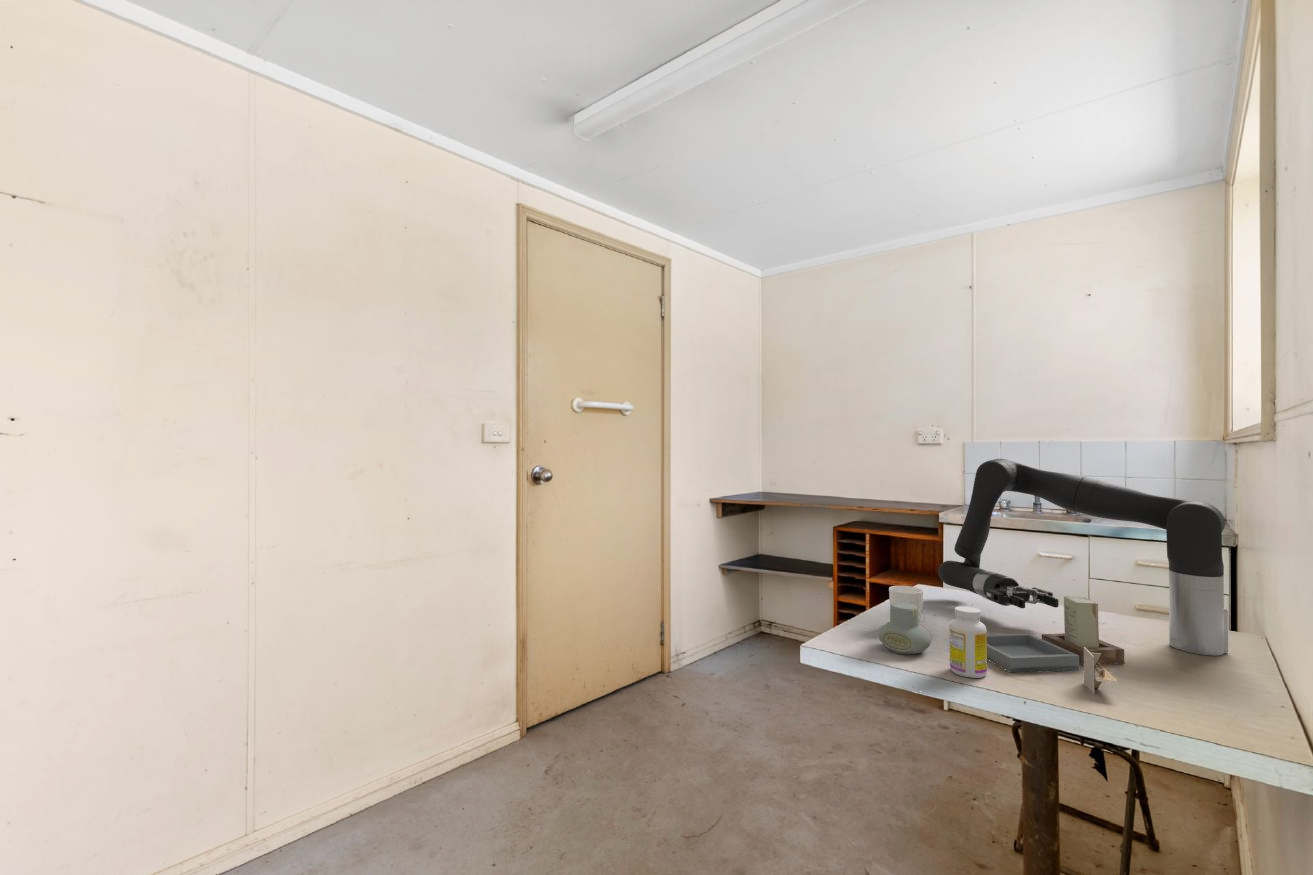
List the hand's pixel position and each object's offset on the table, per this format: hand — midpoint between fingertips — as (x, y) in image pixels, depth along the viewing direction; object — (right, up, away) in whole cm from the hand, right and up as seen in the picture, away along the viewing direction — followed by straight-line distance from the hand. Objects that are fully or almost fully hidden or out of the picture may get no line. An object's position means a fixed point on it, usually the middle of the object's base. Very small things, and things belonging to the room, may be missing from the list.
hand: (1040, 603), depth 143 cm
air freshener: (-36, -8, -9) cm, 38 cm away
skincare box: (+1, -8, -12) cm, 15 cm away
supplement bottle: (-29, -8, -22) cm, 37 cm away
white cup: (-30, -8, +6) cm, 31 cm away
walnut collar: (+1, -8, -12) cm, 14 cm away
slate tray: (-14, -8, -15) cm, 21 cm away
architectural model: (-9, -8, -30) cm, 32 cm away
